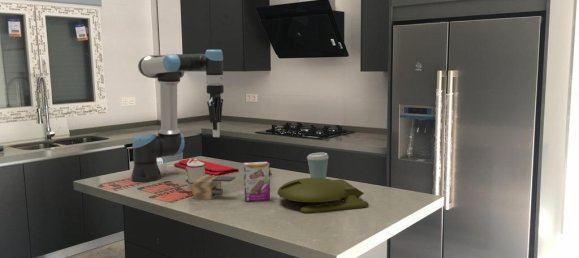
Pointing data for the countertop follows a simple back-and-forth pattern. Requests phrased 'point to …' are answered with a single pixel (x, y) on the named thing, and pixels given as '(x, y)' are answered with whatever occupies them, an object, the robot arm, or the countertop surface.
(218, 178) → the plate
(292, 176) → the countertop surface
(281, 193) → the spaceship
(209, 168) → the red long flat piece
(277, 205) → the countertop surface
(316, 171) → the disposable coffee cup
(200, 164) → the teacup with lid
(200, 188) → the oak block
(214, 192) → the lynch pin
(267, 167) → the candy bar box
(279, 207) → the countertop surface
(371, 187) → the countertop surface
